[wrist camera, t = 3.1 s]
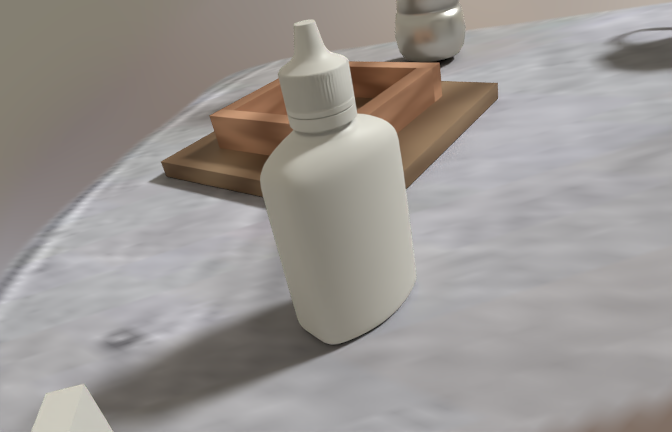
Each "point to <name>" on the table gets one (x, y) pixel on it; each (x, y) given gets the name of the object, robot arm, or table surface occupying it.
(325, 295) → the eye dropper bottle
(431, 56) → the plastic bottle
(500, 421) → the table surface
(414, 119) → the collar board
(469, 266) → the table surface
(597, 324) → the table surface
